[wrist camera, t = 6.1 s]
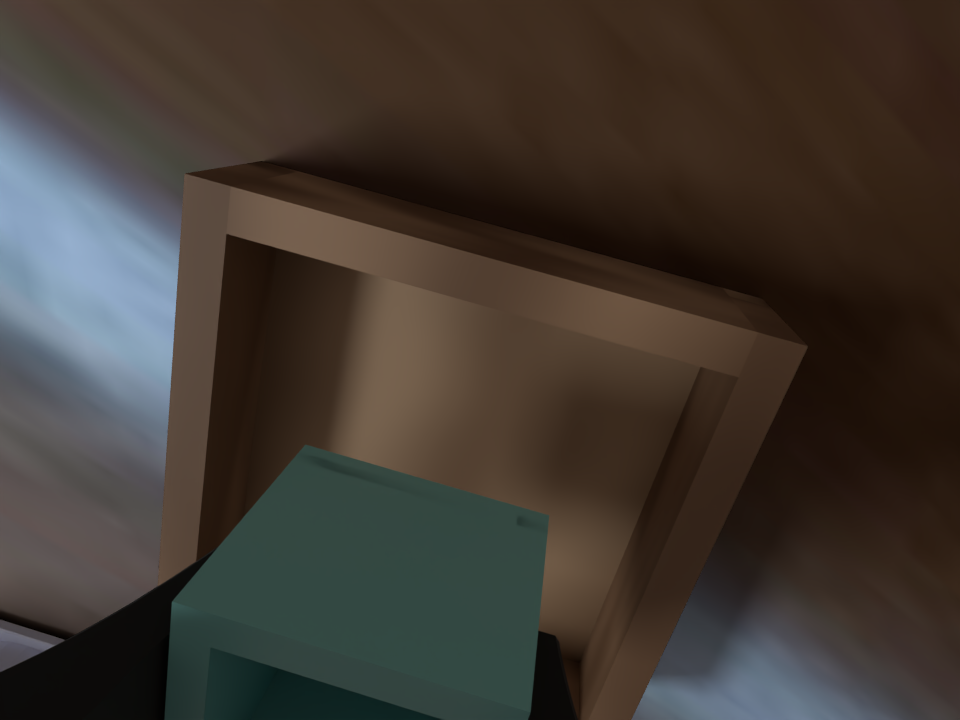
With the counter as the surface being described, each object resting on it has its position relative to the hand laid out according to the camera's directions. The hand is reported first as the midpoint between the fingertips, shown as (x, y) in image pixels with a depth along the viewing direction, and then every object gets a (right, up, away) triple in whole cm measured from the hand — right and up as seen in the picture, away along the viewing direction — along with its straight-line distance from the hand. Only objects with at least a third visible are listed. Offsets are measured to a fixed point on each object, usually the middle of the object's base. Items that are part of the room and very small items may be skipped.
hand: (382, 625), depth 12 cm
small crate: (0, 0, +1) cm, 2 cm away
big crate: (+1, +2, +7) cm, 7 cm away
